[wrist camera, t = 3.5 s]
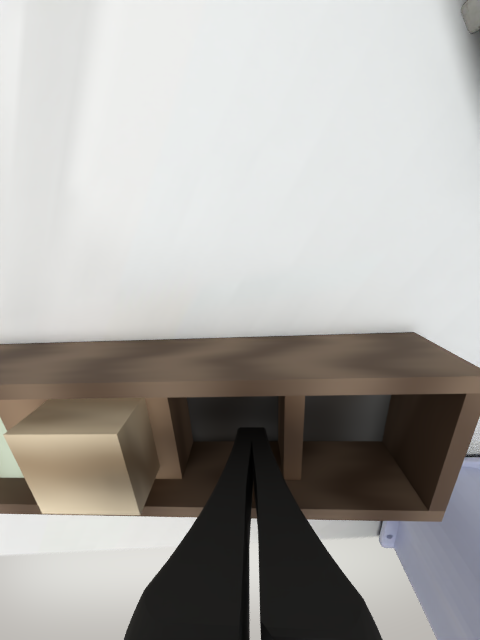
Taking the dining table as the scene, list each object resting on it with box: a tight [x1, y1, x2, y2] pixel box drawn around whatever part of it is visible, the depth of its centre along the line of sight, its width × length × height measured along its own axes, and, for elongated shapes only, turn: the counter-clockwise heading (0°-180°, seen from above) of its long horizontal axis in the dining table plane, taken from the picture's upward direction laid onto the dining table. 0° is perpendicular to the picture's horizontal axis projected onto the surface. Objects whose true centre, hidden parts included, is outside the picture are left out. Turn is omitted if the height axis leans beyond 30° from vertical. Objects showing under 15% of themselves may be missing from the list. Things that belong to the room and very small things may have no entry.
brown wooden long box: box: [0, 332, 480, 522], centre depth 13 cm, size 32×9×4 cm, turn 93°
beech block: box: [3, 398, 160, 515], centre depth 11 cm, size 5×5×2 cm
